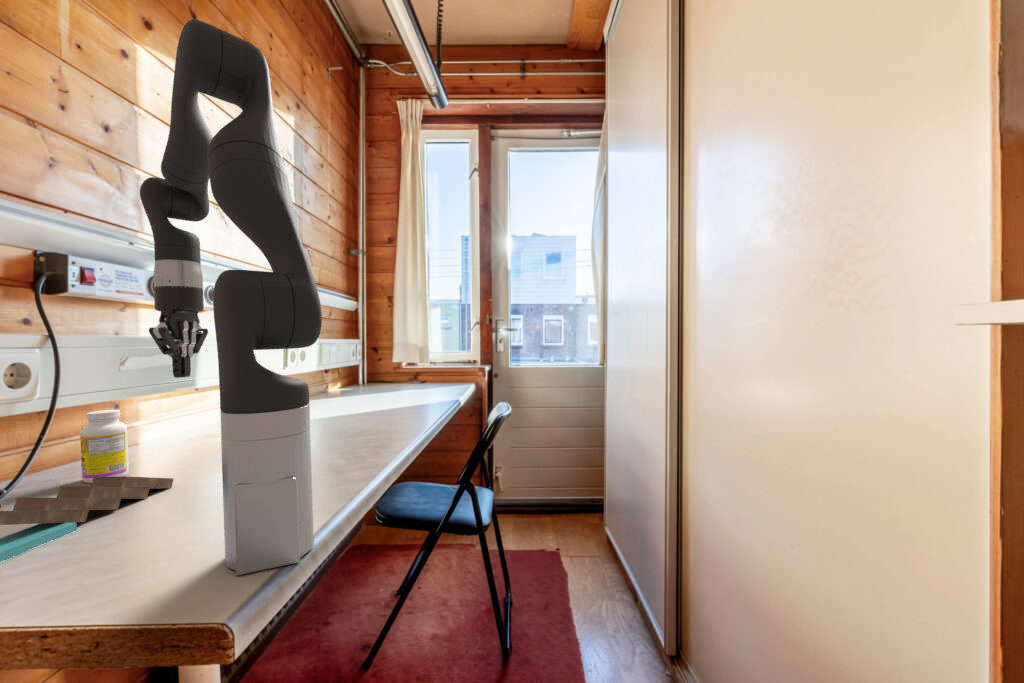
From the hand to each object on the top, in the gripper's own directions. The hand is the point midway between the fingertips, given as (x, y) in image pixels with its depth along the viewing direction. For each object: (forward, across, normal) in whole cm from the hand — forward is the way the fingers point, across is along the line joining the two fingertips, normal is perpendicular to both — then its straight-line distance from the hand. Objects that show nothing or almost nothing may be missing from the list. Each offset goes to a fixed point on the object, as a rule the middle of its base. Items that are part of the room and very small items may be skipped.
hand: (182, 376), depth 85 cm
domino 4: (+18, -12, 0) cm, 22 cm away
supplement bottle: (+19, 0, +15) cm, 24 cm away
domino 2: (+19, -24, 0) cm, 31 cm away
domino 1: (+18, -22, +1) cm, 28 cm away
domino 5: (+18, -7, 0) cm, 19 cm away
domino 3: (+18, -17, 0) cm, 25 cm away
